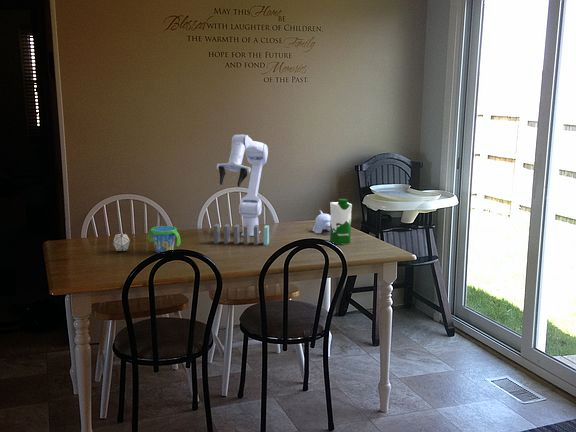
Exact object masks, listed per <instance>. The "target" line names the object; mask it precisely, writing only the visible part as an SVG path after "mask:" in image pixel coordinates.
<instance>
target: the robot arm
mask: <svg viewBox="0 0 576 432" xmlns="http://www.w3.org/2000/svg"><path fill="white" fill-rule="evenodd" d="M230 149H231V151H230V154H229V159H228V162H225V163H217V164H216V170H218V172H219V185H223V183H224V179H225V176H226V171H229V172H233V173H239V176H238V179H237V184H236V185H237V187H239V188H240V186H241V185H242V183H243V182H244V181H245V179H246V178H247V177H248V174H250V178H249V183H248V188H247V193H246V195H244V196H242V197H241V199H240V203H239V205H238V212H239V214H240V215H241V217H242V233H240V237H241V236H243V237H244V226H245V225H249V237H254V226H255V225H259V217H260V215H261V214H262V210H263V207H262V205H263V203H262V199H260V198H259V197H258V193H259V188H260V187H259V186H260V181H261V176H262V170H263V166H264V165H265V164H267V160H268V155H269V147H268V145H267V144H266V143H264V142H261V141H256V140H253V139H252V138H251V137H250V136H249V135H248V134H234V135H233V136H232V138H231V146H230ZM244 155H245V156H246V160H247V162H248V163H249V165H251V167H250V166H246V165H242V164H243V159H244ZM260 233H261V230H259V234H260Z"/></svg>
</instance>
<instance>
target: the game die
mask: <svg viewBox="0 0 576 432" xmlns="http://www.w3.org/2000/svg"><path fill="white" fill-rule="evenodd" d="M132 242H133V240H130V238H129V236H128V232H125V233H115V232H114V238H113V241H111V242H110V244H111V245H112V246H113V247H114V249H115V253H118V252H121V251H123V252H124V251H127V252H129V247H130V244H131V243H132Z"/></svg>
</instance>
